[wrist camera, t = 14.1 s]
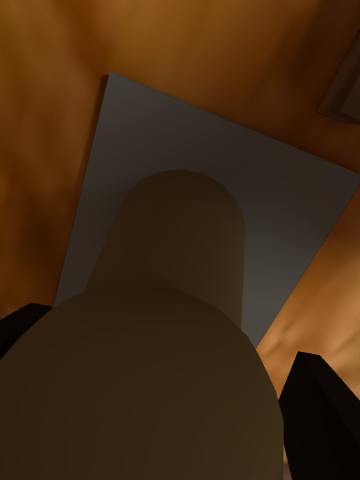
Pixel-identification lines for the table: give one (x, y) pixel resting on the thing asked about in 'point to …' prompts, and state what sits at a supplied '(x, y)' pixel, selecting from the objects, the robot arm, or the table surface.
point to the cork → (147, 355)
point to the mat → (221, 170)
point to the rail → (345, 89)
